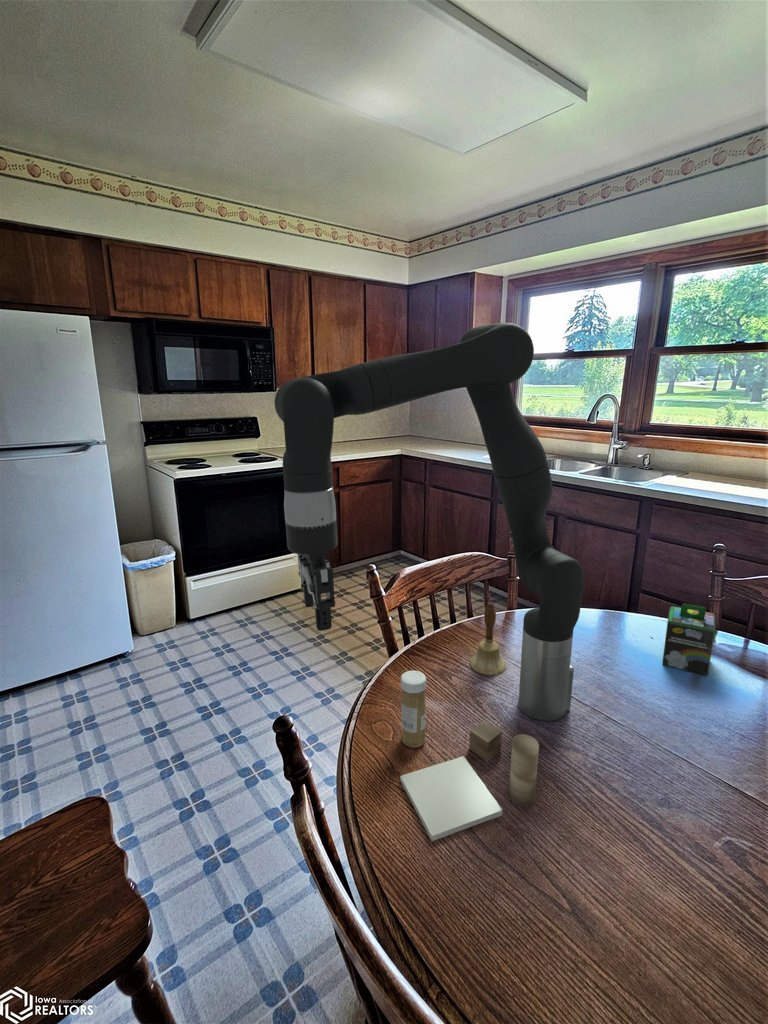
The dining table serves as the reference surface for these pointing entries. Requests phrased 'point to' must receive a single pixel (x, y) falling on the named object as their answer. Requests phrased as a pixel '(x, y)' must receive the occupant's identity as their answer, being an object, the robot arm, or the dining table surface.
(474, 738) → the walnut block
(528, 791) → the beech dowel
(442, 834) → the ceramic tile
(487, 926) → the dining table surface
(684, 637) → the chalk box
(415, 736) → the sprinkles bottle
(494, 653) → the hand bell
